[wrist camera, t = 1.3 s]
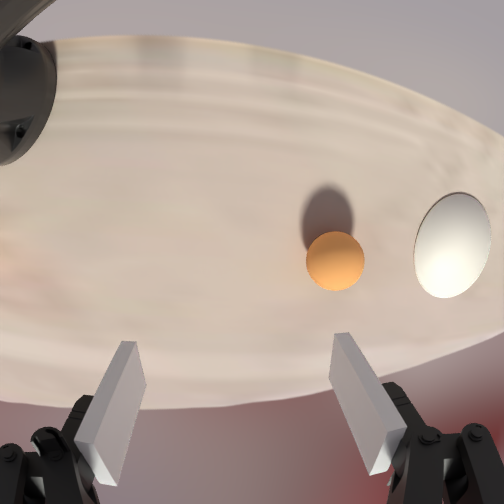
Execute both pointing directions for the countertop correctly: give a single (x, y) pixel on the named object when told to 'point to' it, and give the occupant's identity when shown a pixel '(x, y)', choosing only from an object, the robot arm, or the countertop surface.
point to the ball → (335, 260)
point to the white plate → (452, 246)
